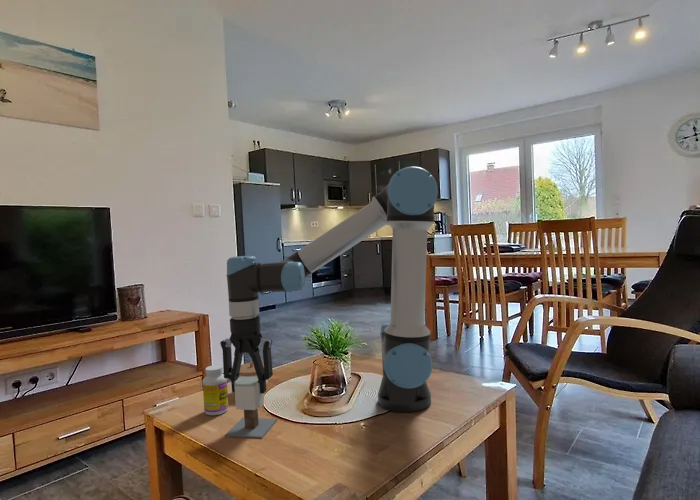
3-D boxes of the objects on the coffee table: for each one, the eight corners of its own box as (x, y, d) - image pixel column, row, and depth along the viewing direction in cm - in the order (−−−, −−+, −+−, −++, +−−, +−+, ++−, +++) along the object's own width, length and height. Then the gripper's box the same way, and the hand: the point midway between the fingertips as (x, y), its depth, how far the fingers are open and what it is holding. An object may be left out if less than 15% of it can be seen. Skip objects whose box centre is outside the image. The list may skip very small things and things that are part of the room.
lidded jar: (276, 389, 139) (275, 360, 139) (249, 400, 131) (247, 369, 131) (256, 382, 146) (255, 355, 146) (229, 392, 138) (227, 363, 138)
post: (258, 426, 113) (257, 399, 113) (254, 430, 111) (252, 403, 110) (249, 425, 114) (247, 399, 113) (245, 430, 111) (243, 403, 111)
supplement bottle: (221, 416, 120) (218, 371, 119) (200, 416, 121) (196, 371, 121) (232, 407, 127) (230, 363, 126) (212, 406, 128) (209, 363, 127)
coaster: (277, 420, 116) (277, 418, 116) (262, 438, 106) (262, 436, 106) (242, 418, 118) (242, 417, 118) (225, 436, 108) (224, 434, 108)
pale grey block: (263, 401, 114) (262, 377, 114) (255, 410, 109) (253, 384, 108) (245, 401, 115) (243, 376, 115) (236, 409, 110) (234, 383, 109)
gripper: (283, 313, 112) (288, 400, 114) (219, 313, 116) (224, 398, 117) (272, 319, 105) (277, 412, 106) (204, 319, 109) (210, 409, 110)
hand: (250, 404), depth 112 cm, fingers closed on pale grey block, 5 cm apart
